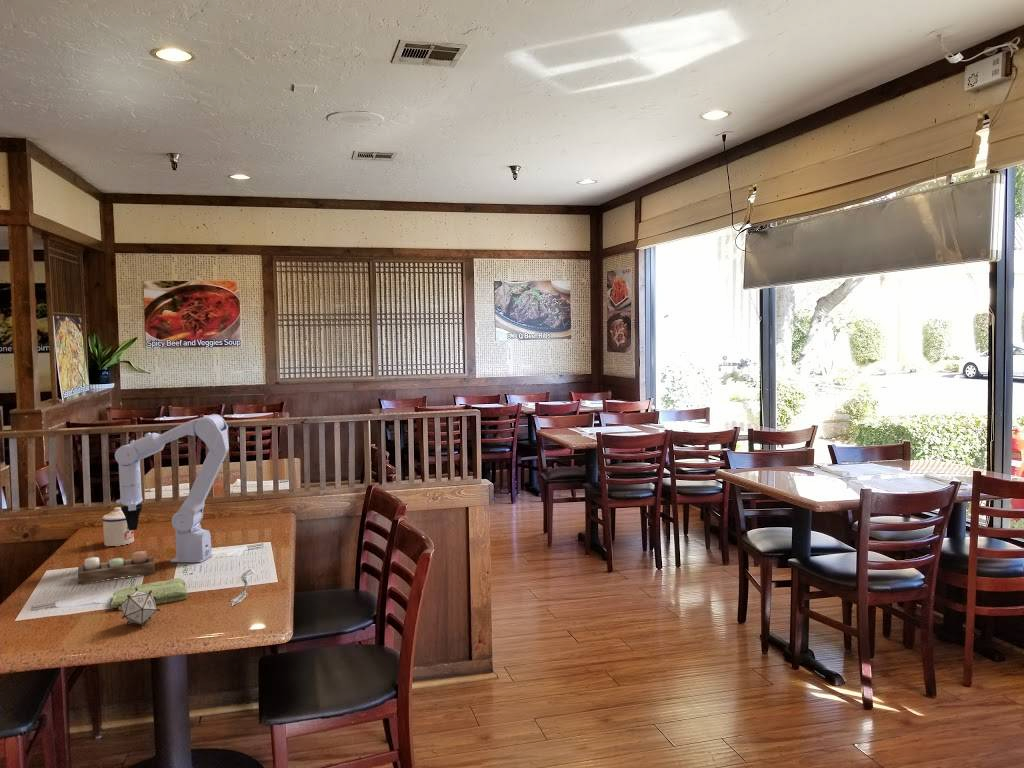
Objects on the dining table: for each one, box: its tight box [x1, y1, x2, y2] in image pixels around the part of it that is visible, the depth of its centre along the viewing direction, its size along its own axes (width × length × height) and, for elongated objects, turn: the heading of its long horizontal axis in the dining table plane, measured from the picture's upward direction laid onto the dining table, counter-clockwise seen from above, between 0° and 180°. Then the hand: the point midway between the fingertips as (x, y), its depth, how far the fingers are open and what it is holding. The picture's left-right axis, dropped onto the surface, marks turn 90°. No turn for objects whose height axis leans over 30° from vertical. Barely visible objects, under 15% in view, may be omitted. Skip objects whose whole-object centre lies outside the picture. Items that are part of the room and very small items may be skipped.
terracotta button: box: [132, 550, 148, 563], centre depth 225 cm, size 4×4×2 cm
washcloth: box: [110, 577, 189, 611], centre depth 203 cm, size 13×18×3 cm
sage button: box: [108, 557, 124, 568], centre depth 222 cm, size 4×4×2 cm
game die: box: [117, 588, 162, 627], centre depth 185 cm, size 9×8×10 cm
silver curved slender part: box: [230, 568, 255, 607], centre depth 211 cm, size 32×1×5 cm
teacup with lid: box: [101, 506, 135, 547], centre depth 256 cm, size 12×9×12 cm
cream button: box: [84, 556, 100, 570], centre depth 219 cm, size 4×4×2 cm
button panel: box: [77, 555, 156, 585], centre depth 222 cm, size 19×8×3 cm, turn 117°
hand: (132, 529), depth 235 cm, fingers closed
